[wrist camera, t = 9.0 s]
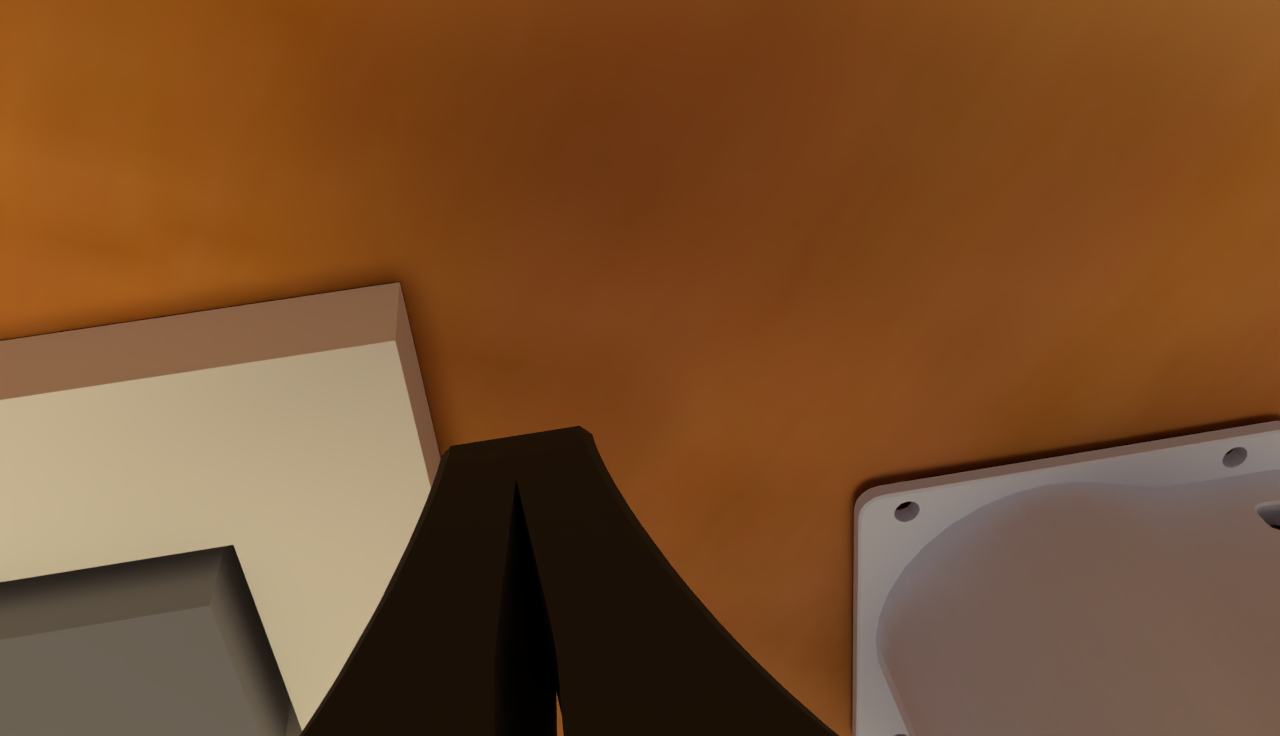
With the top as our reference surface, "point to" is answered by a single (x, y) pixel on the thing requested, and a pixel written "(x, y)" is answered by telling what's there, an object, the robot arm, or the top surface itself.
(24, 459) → the button panel
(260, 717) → the button two
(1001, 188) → the top surface
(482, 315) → the top surface
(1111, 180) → the top surface
